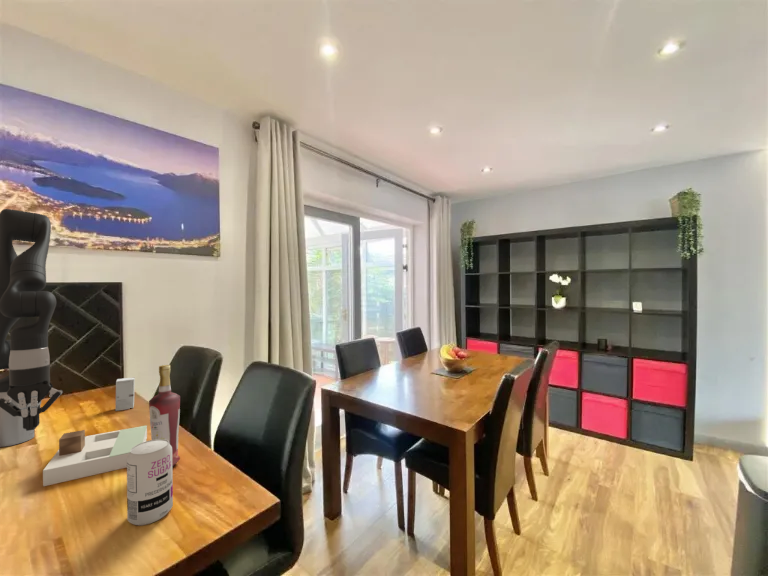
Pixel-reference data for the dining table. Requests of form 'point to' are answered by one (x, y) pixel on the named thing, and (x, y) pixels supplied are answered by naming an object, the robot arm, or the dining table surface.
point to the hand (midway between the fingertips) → (31, 429)
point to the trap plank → (95, 456)
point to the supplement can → (149, 481)
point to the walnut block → (71, 442)
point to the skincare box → (125, 393)
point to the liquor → (165, 413)
